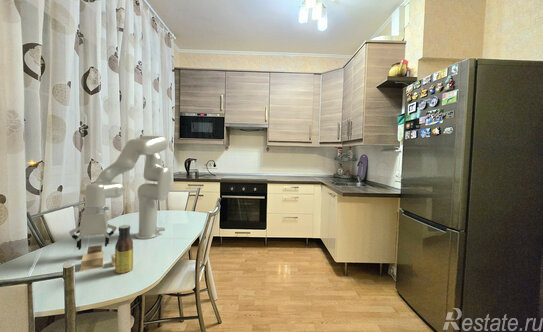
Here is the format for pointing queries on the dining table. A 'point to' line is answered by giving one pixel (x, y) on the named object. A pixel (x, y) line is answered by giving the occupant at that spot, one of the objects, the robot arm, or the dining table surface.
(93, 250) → the walnut cube
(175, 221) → the dining table surface
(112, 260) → the maple block
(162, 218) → the dining table surface
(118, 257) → the sauce bottle
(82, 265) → the oak plinth
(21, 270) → the dining table surface
